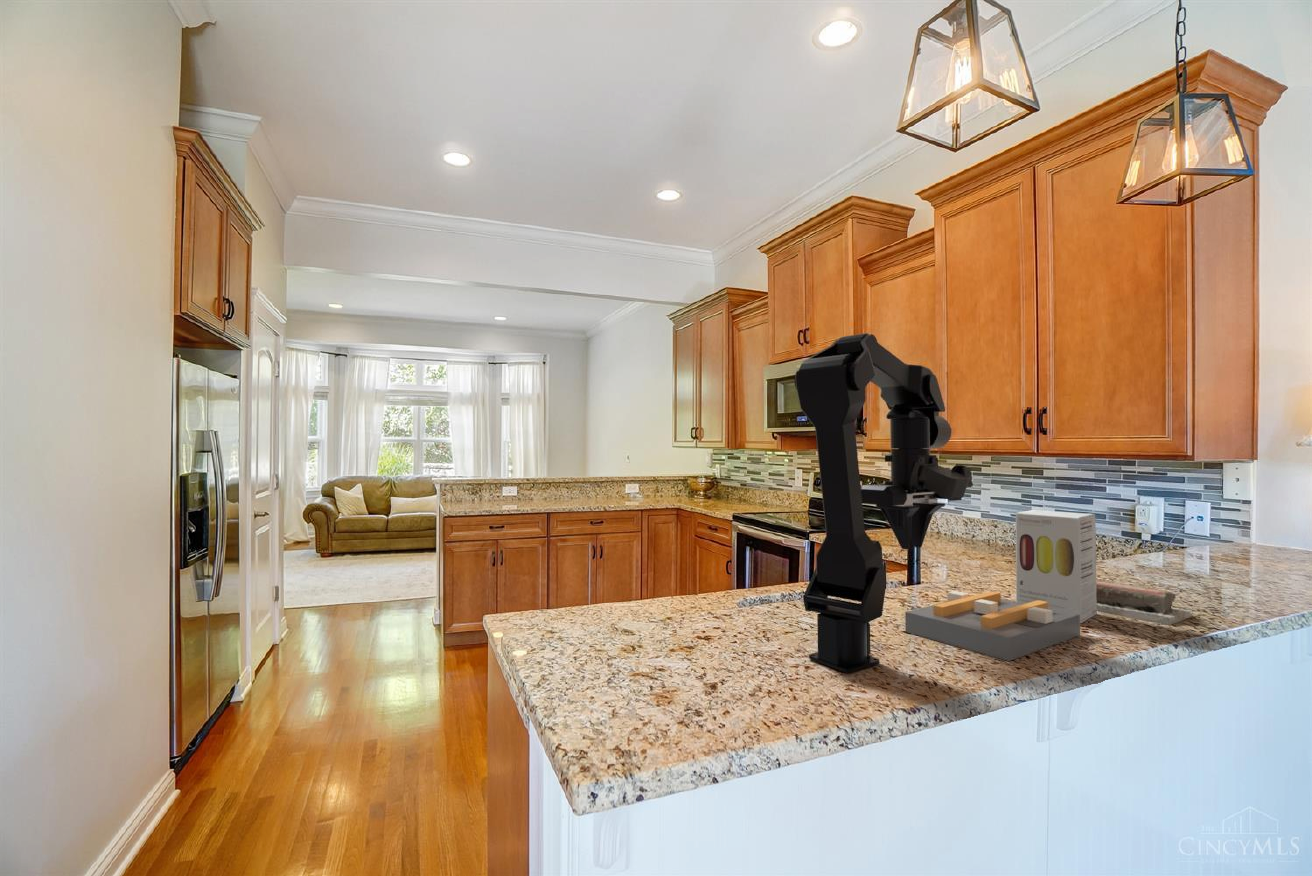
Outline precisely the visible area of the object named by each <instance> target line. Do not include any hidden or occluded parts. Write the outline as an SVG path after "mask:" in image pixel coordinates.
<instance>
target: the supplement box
mask: <svg viewBox="0 0 1312 876" xmlns="http://www.w3.org/2000/svg"><path fill="white" fill-rule="evenodd" d="M1096 528H1097V527H1096V514H1095V513H1081V512H1069V511H1068V512H1067V511H1057V510H1056V511H1053V510H1043V509H1042V510H1041V509H1030V510H1026V511H1025V510H1024V511H1018V512H1016V513H1015V593H1016V594H1015V599H1016V600H1015V602H1020V603H1025V604H1026V603H1030V602H1034V601H1037V600H1040V601H1045V602H1048V608H1050V609H1055V610H1060V611H1065V612H1070V613H1075V614H1080V624H1082V623H1084V622H1086V621H1087V620H1089V619H1091V618H1093V617H1094V616H1096V615H1097V599H1096V579H1097V545H1096V544H1097V543H1096V542H1097V540H1096V533H1097V532H1096Z"/></svg>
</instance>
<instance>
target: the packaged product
mask: <svg viewBox="0 0 1312 876" xmlns="http://www.w3.org/2000/svg"><path fill="white" fill-rule="evenodd" d="M1096 599H1097V611H1098V613H1102V614H1103V613H1104V614H1109V615H1113V616H1117V617H1124V618H1128V619H1134V620H1139V621H1146V622H1150V623H1155V622H1157V624H1160V623H1161V625H1167V626H1171V625H1174V624H1176V623H1179V622H1182V621H1184V620H1186V619H1189V618H1192V617H1193V613H1194V611H1193V610H1190V609H1180V608H1178V607H1172V606H1173V602H1174V601H1175V599H1176V594H1175V593H1172V592H1171V591H1167V590H1160V589H1154V588H1148V587H1143V586H1142V587H1141V586H1137V585H1132V584H1125V583H1118V582H1113V581H1106V580H1100V579H1097V578H1096Z"/></svg>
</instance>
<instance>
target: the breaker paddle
mask: <svg viewBox="0 0 1312 876" xmlns="http://www.w3.org/2000/svg"><path fill="white" fill-rule="evenodd" d="M974 612H977V613H982V614H986V615H987V614H990V613H994V612H998V602H993V601H988V600H983V599H980V600H976V601H974Z"/></svg>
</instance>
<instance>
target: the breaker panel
mask: <svg viewBox="0 0 1312 876" xmlns="http://www.w3.org/2000/svg"><path fill="white" fill-rule="evenodd" d="M946 595H947V598H946V599H947V601H945V602H949V601H953V600H958V599H962V598H966V597H970V596H971V595H970V593H966V592H961V591H957V590H953V591H947V593H946ZM974 595H975V594H974ZM974 595H972V596H974ZM976 595H978V593H977V594H976ZM945 602H940V603H936V604H932V605H929V606H924V607H920V608H916V609H911V610H908V611H905V613H904V614H905V615H904V619H905V622H904V623H905V626H904V627H905V632H906V633H909V634H912V635H915V636H918V637H923V638H926V639H929V640H933V641H937V642H940V643H944V644H947V645H951V646H953V647H958V648H961V649H965V650H968V651H972V652H975V653H978V654H981V655H986V656H989V657H993V658H996V659H1000V660H1004V661H1006V662H1007V661H1008V662H1010V661H1014V660H1016V659H1019V658H1021V657H1024V656H1027V655H1031V654H1032V653H1036V652H1038V651H1041V650H1043V649H1045V648H1048V647H1052V646H1054V645H1057V644H1059V643H1062V642H1065V641H1067V640H1070V639H1073V638H1075V637H1078V636H1081V625H1080V614H1075V613H1070V612H1065V611H1060V610H1055V609H1050V608H1048V610H1047V609H1042V608H1037V607H1032V608H1029V609H1027V618H1025V619H1022V620H1019V621H1016V622H1012V623H1009V624H1006V625H1002V626H999V627H996V628H993V629H989V628H985V627H981V616H983V615H986V614H982V613H977V612H974V609H971V610H967V611H964V612H960V613H956V614H952V615H948V616H944V617H940V616H936V615H933V605H937V604H941V603H945ZM1023 604H1025V603H1020V602H1016V600H1015V601H1014V600H1008V599H1004V598H1001V602H998V611H1001V610H1005V609H1008V608H1012V607H1016V606H1019V605H1023Z"/></svg>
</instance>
